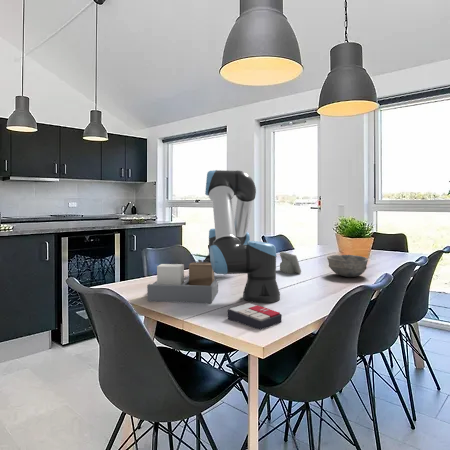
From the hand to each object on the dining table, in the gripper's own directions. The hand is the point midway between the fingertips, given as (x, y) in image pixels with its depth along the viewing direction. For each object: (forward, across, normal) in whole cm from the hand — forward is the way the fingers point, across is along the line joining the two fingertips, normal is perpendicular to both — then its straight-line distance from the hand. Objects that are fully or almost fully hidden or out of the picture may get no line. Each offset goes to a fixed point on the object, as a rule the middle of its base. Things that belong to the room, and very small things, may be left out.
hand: (205, 268), depth 175 cm
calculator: (+45, -25, -10) cm, 52 cm away
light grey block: (+15, +12, -7) cm, 21 cm away
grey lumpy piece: (-43, -41, -9) cm, 60 cm away
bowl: (-34, -70, -9) cm, 78 cm away
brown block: (+9, 0, -7) cm, 12 cm away
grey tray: (+17, +6, -9) cm, 20 cm away
